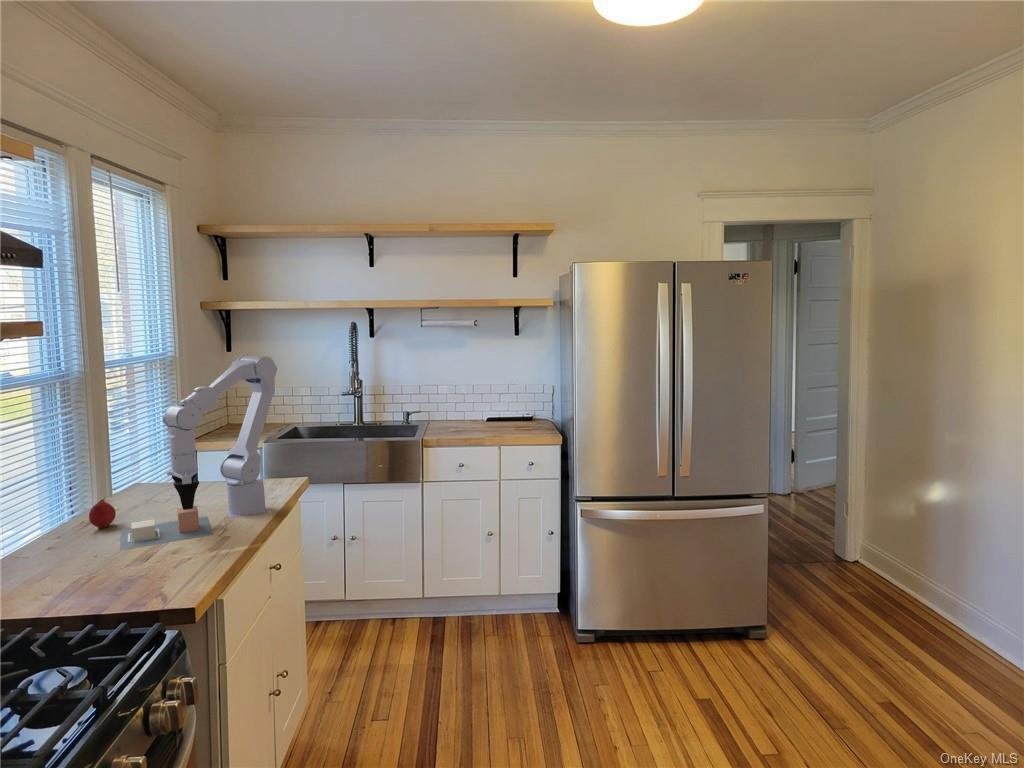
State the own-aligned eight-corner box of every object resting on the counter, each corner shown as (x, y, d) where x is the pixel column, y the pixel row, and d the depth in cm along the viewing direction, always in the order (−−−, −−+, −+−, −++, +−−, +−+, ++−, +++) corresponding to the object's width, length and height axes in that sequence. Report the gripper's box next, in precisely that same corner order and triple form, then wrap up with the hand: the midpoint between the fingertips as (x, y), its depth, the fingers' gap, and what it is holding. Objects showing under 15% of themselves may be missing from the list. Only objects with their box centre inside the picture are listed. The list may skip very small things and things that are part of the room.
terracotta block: (197, 524, 167) (196, 505, 167) (199, 529, 164) (197, 510, 163) (178, 527, 165) (177, 508, 164) (179, 532, 161) (178, 513, 161)
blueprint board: (207, 518, 174) (206, 505, 173) (213, 536, 160) (212, 522, 160) (121, 531, 164) (120, 518, 163) (120, 552, 150) (118, 537, 150)
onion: (103, 533, 163) (101, 503, 162) (84, 532, 164) (81, 501, 163) (121, 525, 168) (119, 496, 167) (103, 524, 169) (100, 495, 168)
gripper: (164, 449, 166) (167, 499, 168) (166, 460, 154) (170, 515, 155) (194, 446, 170) (197, 495, 171) (199, 457, 157) (202, 510, 159)
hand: (186, 505), depth 163 cm, fingers open, 7 cm apart
